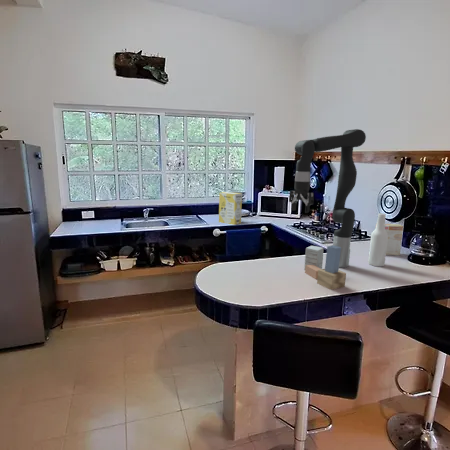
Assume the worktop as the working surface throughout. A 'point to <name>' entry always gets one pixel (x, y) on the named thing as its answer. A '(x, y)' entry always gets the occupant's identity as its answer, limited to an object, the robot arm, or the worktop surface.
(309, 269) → the terracotta block
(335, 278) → the oak base block
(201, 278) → the worktop surface
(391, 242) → the coffeecake box
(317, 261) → the grey upright block
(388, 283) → the worktop surface
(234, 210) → the pasta box
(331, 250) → the blue post block
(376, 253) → the alcohol
